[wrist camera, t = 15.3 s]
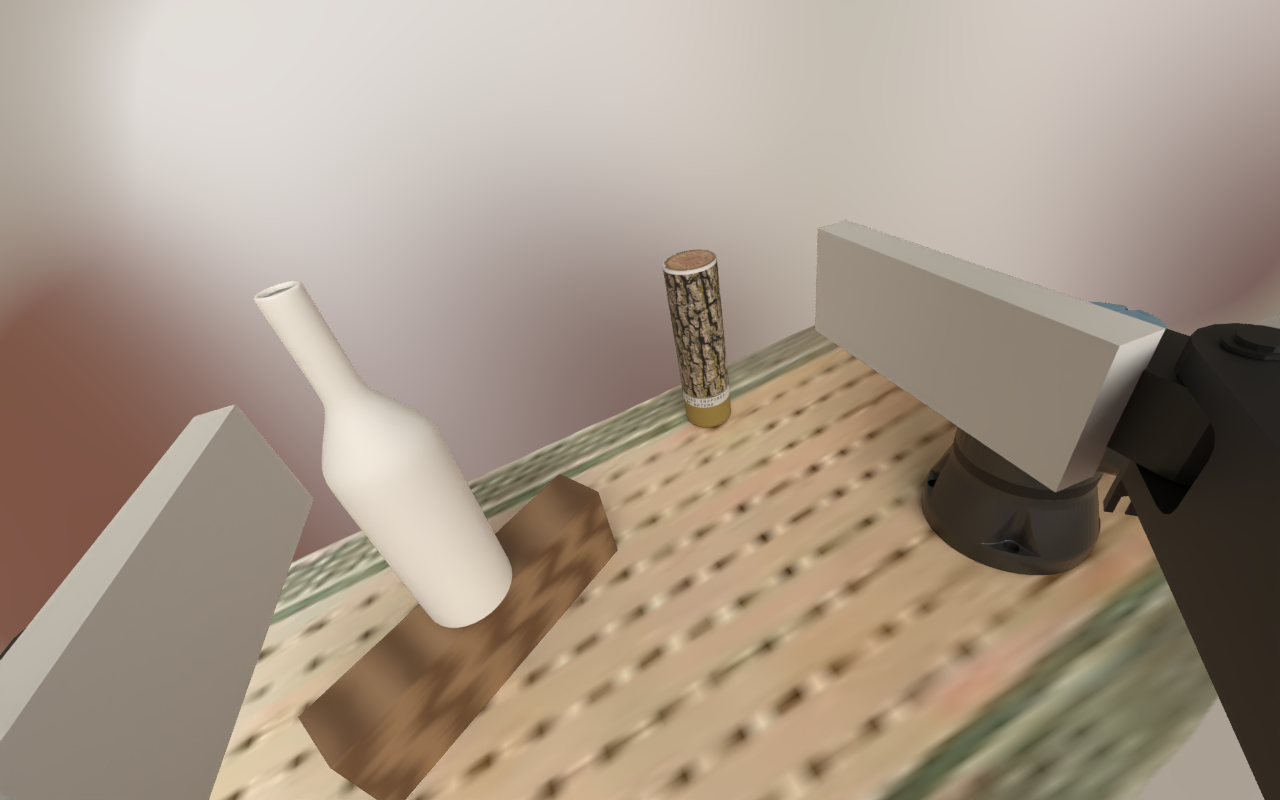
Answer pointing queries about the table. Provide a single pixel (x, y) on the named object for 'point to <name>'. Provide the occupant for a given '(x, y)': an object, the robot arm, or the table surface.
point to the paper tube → (699, 335)
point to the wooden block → (459, 651)
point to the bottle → (394, 474)
